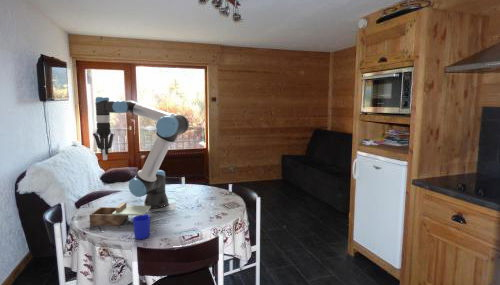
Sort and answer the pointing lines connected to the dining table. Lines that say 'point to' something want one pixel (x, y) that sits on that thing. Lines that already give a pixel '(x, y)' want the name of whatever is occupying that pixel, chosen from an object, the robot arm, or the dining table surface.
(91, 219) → the box
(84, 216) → the dining table surface
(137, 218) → the mug
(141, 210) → the lid
